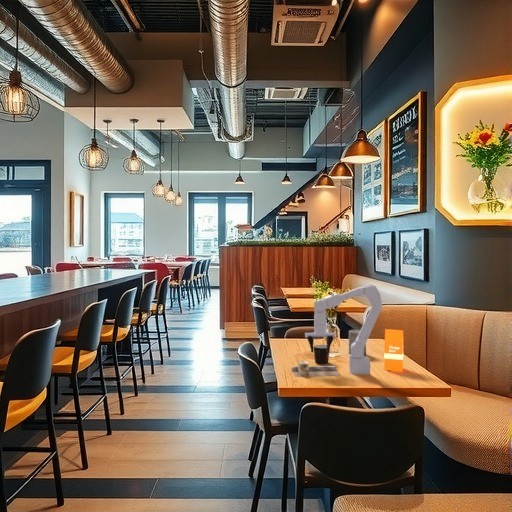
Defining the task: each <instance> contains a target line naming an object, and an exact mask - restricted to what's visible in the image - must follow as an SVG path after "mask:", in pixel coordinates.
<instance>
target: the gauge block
mask: <svg viewBox="0 0 512 512" xmlns="http://www.w3.org/2000/svg"><path fill="white" fill-rule="evenodd" d="M297 366H298V372H299V373H300V375H309V366H310V364H309V362H308V361H307V360H298V361H297Z"/></svg>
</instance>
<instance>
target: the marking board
mask: <svg viewBox="0 0 512 512" xmlns="http://www.w3.org/2000/svg"><path fill="white" fill-rule="evenodd" d="M290 370H291V372H292V374H293V376H294V377H295V378H309V377H311V378H315V377H316V378H317V377H320V378H321V377H342V375H341V373H340V371H338V370H337V366H336V365H313V366H311V365H309V375H300V373H299V372H298V365H297V366H291V368H290Z"/></svg>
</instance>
